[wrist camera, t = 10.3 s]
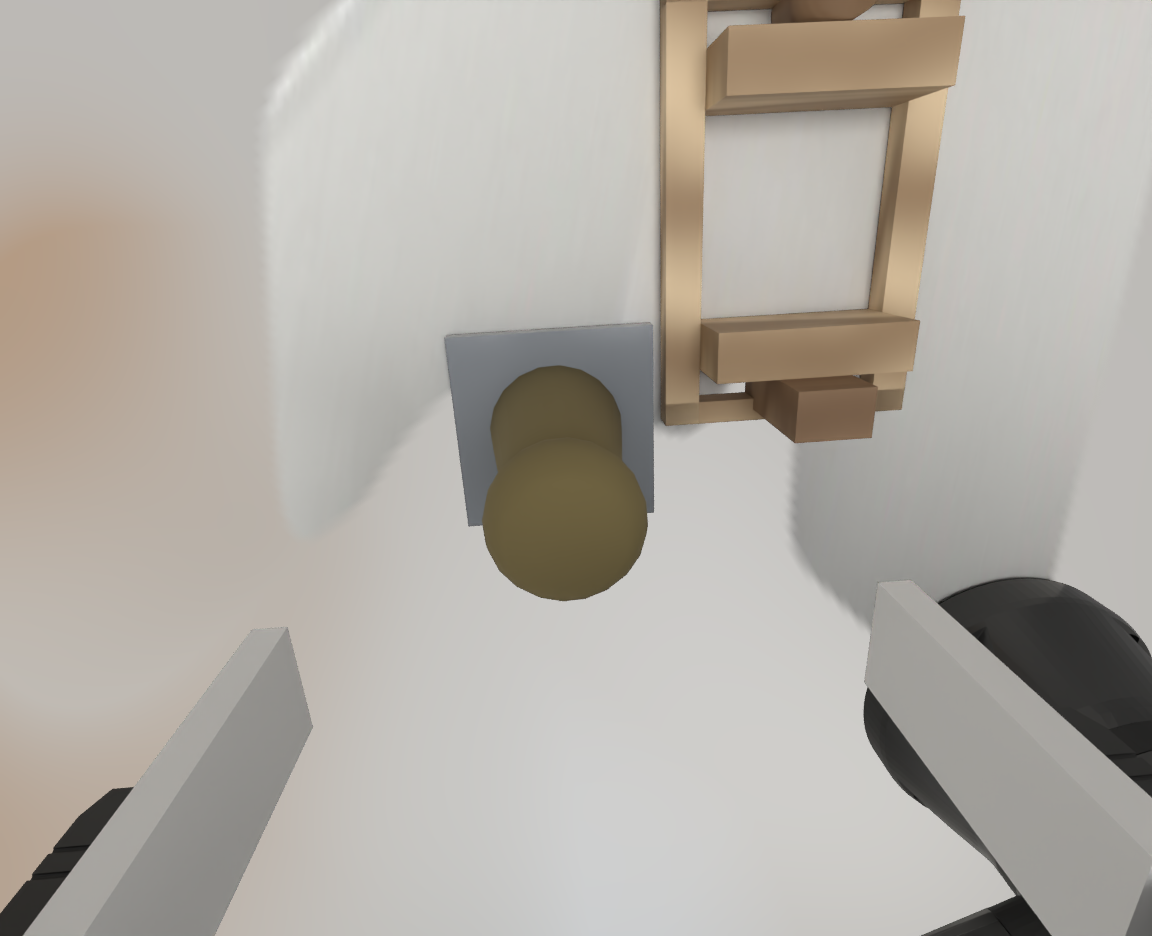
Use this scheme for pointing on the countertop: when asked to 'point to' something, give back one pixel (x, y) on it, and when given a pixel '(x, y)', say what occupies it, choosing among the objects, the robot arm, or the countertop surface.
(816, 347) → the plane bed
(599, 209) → the countertop surface
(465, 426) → the slate coaster
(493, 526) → the cork
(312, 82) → the countertop surface
